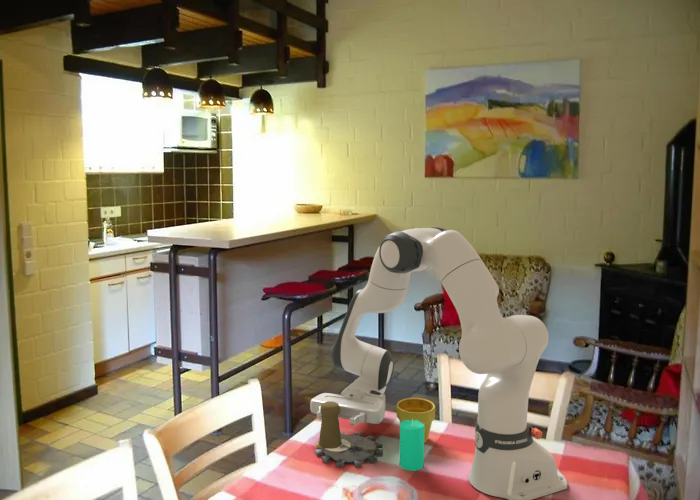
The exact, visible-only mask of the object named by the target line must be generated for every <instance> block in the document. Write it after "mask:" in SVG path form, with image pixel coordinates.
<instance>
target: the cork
mask: <svg viewBox="0 0 700 500" xmlns="http://www.w3.org/2000/svg"><path fill="white" fill-rule="evenodd" d="M320 412H321V414H322V419H321V423H320V432H319V439H318V442H319V445H320V446H321V447H323V448H330V449H332V448H337V447H339V446H340V445H341V444H342V442H341V434H340V433H341V428H340V427H341V426H340V418H338V415H339V413H340V406H339V404H338V403H336V402H333V401H328V402H325V403H323V404H322V405H321V408H320Z"/></svg>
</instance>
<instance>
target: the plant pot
mask: <svg viewBox="0 0 700 500" xmlns="http://www.w3.org/2000/svg"><path fill="white" fill-rule="evenodd" d="M395 406H396V410H395V411H396V418H397V419H398V421H399V425H400V424H401V422H403V421H404V420H410V421H412V419H413V421H414V420H418V421H419V422H421V423H422V424H424V425H425V427H424V444H425V443H426V442H427V441H428V439H429V435H430V432H431V428H432V422H433V421H434V420H435V418H436V405H435V404H434V402H432V401H431V400H429V399H425V398H420V397H408V398H407V397H406V398H403V399H401V400H398V402H397V403H396V405H395Z"/></svg>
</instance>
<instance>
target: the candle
mask: <svg viewBox="0 0 700 500" xmlns="http://www.w3.org/2000/svg"><path fill="white" fill-rule="evenodd" d="M424 427H425V425H424V424H422V423H421V422H419V421H418V420H414V421H413V419H412V421H410V420H404V421H403V422H401V424H400V423H399V464H398V465H399V466H400V468H402V469H403V470H406V471H413V472H414V471H420V470H421V469H423V468H424V464H425V463H424V461H425V443H424Z"/></svg>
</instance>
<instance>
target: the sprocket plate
mask: <svg viewBox="0 0 700 500" xmlns="http://www.w3.org/2000/svg"><path fill="white" fill-rule="evenodd" d="M340 434H341V442H342V444H341V445H340V446H339V447H337V448H332V449H330V448H323V447H321V446H320V445H319V441H317V443H316V444H315V453H314V454H315V455H316V457H321V461H322V462H323V463H325V464H329V463H331V462H334V463H336V467H340V468H345V466H346V465H353V467H354V468H359V467H360V468H361V467H363V463H365V462H368V463H370V464H372V465H373V464H374V463H376V462H377V461H378V457H383V455H384V448H383V447H384V445H383V443H382V442H381V441H376V438H375V436H373V435H368V436H365V437H364V436H362V434H361V432H354V433H353V434H351V435H350V434H348V435H347V434H346V433H345V432H340Z"/></svg>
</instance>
